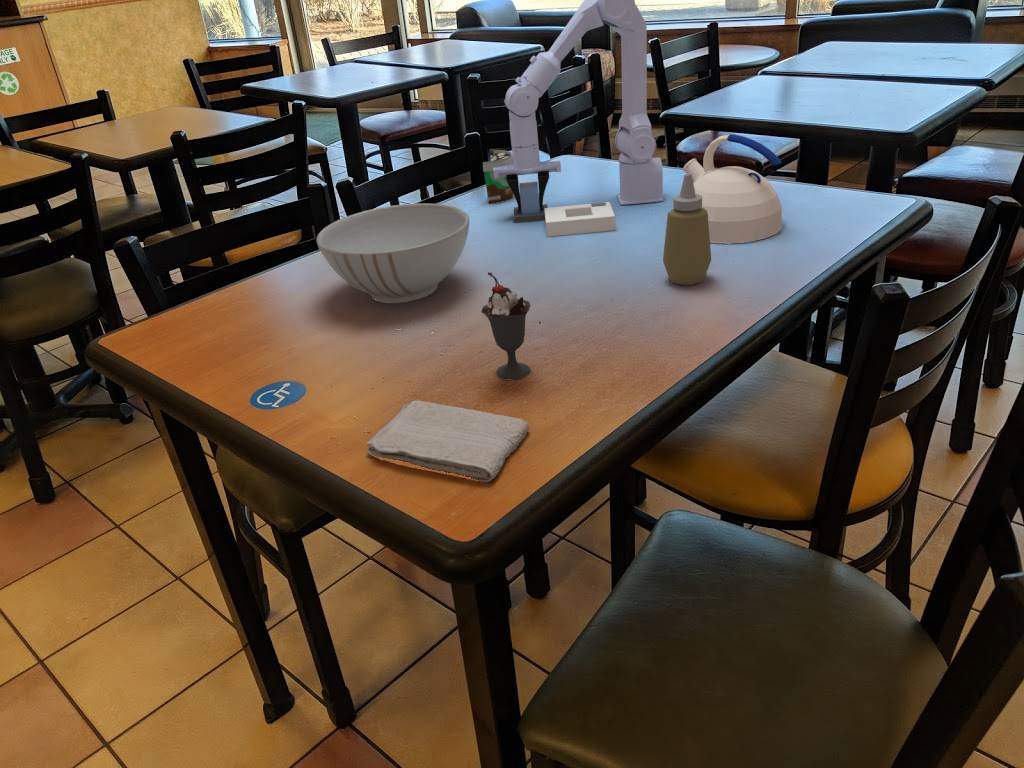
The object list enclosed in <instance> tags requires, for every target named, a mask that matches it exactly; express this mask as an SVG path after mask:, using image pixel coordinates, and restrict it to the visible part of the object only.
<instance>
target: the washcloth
mask: <svg viewBox="0 0 1024 768" xmlns="http://www.w3.org/2000/svg"><path fill="white" fill-rule="evenodd" d="M400 410H401V411H400V412H398V414H397V415H396V416H395V417H394V418H392V419H391V420H390V421H389V422H388V423H387V424H386V425H384V426H383V428H381V429H380V430H378V432H377V433H376V434H375V435H373V436H372V438H371V439H370V440H368V441H367V442H366V444H365V445H366V447H368V449H366V455H368V454H370V455H372V456H373V455H374V456H376V457H377V456H378V458H379V457H382V458H388V459H393V460H399V461H403V462H409V463H411V464H414V465H418V466H421V467H425V468H428V469H432V470H438V471H444V472H446V473H447V472H448V473H455V474H457V475H463V476H464V475H465V476H466V477H471V479H472V478H473V480H474V479H475V480H478V481H481V482H480V483H484V482H486V483H489V482H491V481H492V479H493V480H494V479H495V478H496V476H497V475H498V474H499V472H500V471H501V470H502V468H503V466H504V463H505V461H506V460H507V459H508V458H509V457H508V456H510V455H511V454H512V453H513V452H512V451H513V450H516V449H517V448H518V447H519V446H520V444H521V443H522V441H523V440H524V439H525V437H526V436H527V434H528V433H529V429H530V425H529V424H528V422H527V421H524V419H522V418H520V417H519V418H517V417H512V416H509V415H503V414H496V413H491V412H486V411H482V410H476V409H472V408H471V409H468V408H464V407H459V406H453V405H445V404H439V403H434V402H431V401H422V399H421V400H419V399H418V400H412V401H411V402H410V403H408V404H405V405H402V407H401V409H400ZM527 432H528V433H527ZM524 436H525V437H524ZM522 439H523V440H522ZM520 442H521V443H520ZM519 443H520V444H519ZM517 446H518V447H517ZM511 452H512V453H511ZM510 453H511V454H510ZM372 456H371V457H372ZM507 457H508V458H507ZM506 458H507V459H506ZM505 459H506V460H505ZM482 481H483V482H482Z"/></svg>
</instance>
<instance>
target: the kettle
mask: <svg viewBox="0 0 1024 768" xmlns="http://www.w3.org/2000/svg"><path fill="white" fill-rule="evenodd" d="M726 142H730V143H734V144H739V145H742V146H744V147H748V148H750V149H751V150H753V151H755V152H757V153H759V154H760V155H762V156H763V157H764V158H765V159H766V160H767V161H768V162H769V163H770V164H771V166H777V165H780V164H782V163H783V162H782V160H781V159H780V158H779V156H778V155H776V154H775V153H774V151H772V150H771V149H769V148H768V147H767V146H765V145H764V144H762V143H760V142H759V141H756V140H754V139H751V138H749V137H745V136H743V135H738V134H733V133H730V134H726V135H725V134H724V135H720V136H718V137H716V138H715V139H714V140H713V141H711V142H710V143H709V144H708V147H706V149H705V152H704V155H703V157H702V158H703V160H702V161H703V162H702V165H703V166H702V165H701V164H700V163H699V161H697V158H692V159H690V160H689V161H688V162H686V163H685V164H684V166H683V168H682V171H683V172H684V173H685V174H691V175H692V179H693V184H694V189H695V194H699V195H701V196H702V208H704V209H705V210H707V213H708V223H709V236H710V242H711V243H710V244H715V243H738V244H742V243H741V242H747V243H749V242H748V241H754V242H757V241H756V240H758V241H761V240H760V239H762V240H765V239H764V238H766V239H768V238H770V236H771V237H773V236H775V235H776V234H777V233H779V232H781V230H782V228H783V220H782V219H783V215H782V209H783V208H782V207H783V206H782V203H781V201H780V198H779V196H778V195H779V194H778V193H777V191H776V189H775V187H774V186H773V185H772V184H771V183H770V181H769V180H768V179H767V178H765V177H764V176H762V175H761V174H760V173H759V172H757V171H755V170H752V169H749V168H745V167H743V166H736V165H735V166H732V165H731V166H723V167H719V168H718V167H715V165H714V155H715V151H716V149H717V148H718V147H719V145H721V144H723V143H726ZM774 234H775V235H774ZM772 235H773V236H772ZM767 237H768V238H767Z"/></svg>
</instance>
